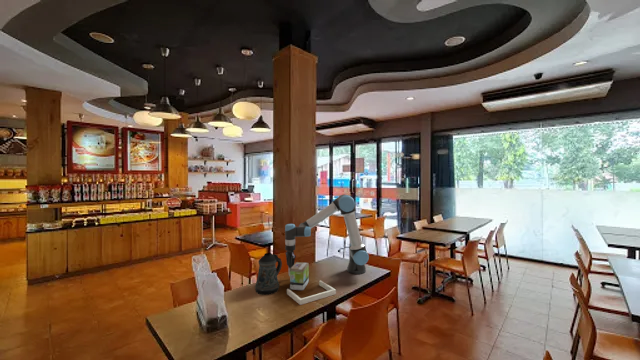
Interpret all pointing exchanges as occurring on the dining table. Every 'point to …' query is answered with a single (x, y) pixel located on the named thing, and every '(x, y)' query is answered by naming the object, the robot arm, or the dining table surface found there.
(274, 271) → the beer stein
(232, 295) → the dining table surface
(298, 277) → the tea box
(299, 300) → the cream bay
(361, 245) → the robot arm
